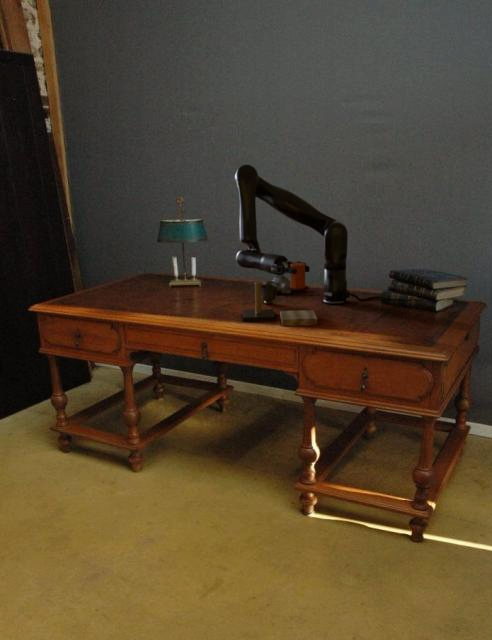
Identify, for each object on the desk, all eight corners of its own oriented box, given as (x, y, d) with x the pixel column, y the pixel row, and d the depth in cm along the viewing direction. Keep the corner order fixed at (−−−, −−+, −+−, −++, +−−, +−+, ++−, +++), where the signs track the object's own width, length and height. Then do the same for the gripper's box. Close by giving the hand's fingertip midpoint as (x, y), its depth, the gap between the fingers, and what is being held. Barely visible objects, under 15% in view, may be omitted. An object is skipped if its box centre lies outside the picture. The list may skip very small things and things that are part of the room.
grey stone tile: (313, 316, 258) (313, 310, 257) (317, 325, 246) (317, 318, 245) (280, 317, 258) (280, 311, 257) (282, 326, 245) (282, 319, 245)
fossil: (279, 277, 312) (297, 263, 300) (291, 297, 313) (309, 285, 300) (253, 289, 302) (270, 276, 290) (265, 310, 303) (282, 298, 290)
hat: (307, 285, 251) (307, 262, 248) (309, 290, 244) (309, 265, 240) (286, 286, 251) (286, 262, 247) (287, 290, 243) (287, 266, 240)
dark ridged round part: (275, 306, 274) (275, 287, 271) (258, 305, 276) (257, 286, 273) (278, 302, 281) (278, 283, 278) (261, 301, 282) (261, 283, 279)
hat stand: (272, 312, 264) (272, 279, 259) (274, 320, 253) (274, 285, 248) (243, 313, 264) (241, 280, 259) (243, 321, 253) (242, 286, 248)
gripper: (259, 256, 250) (287, 262, 237) (288, 252, 258) (317, 257, 245) (259, 276, 252) (287, 283, 240) (288, 271, 261) (316, 277, 248)
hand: (302, 270), depth 243 cm, fingers closed on hat, 5 cm apart
